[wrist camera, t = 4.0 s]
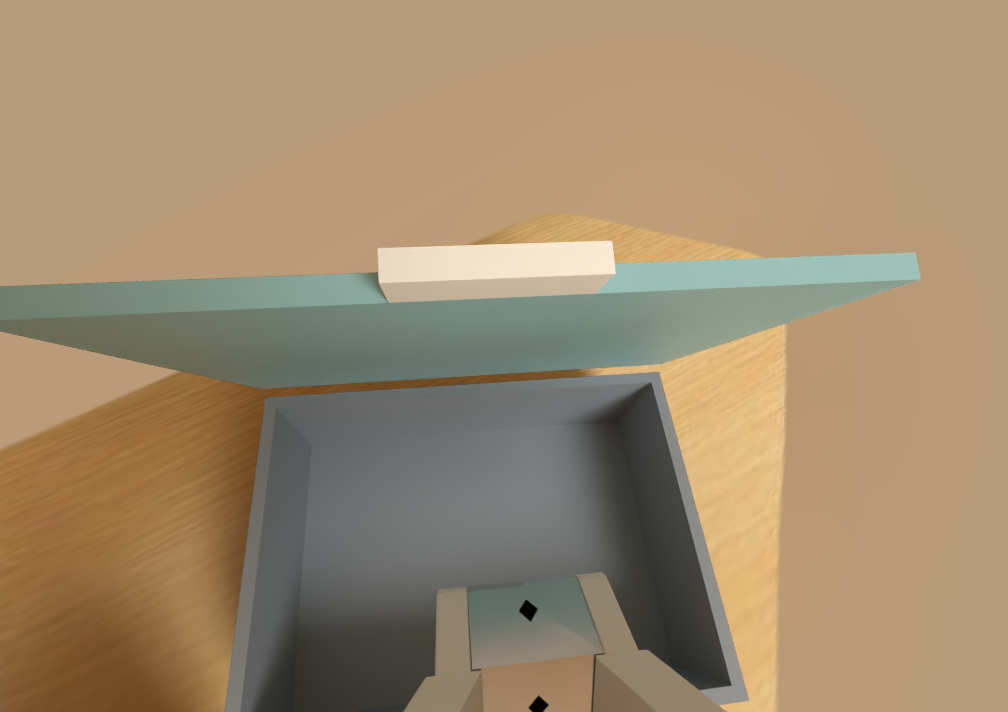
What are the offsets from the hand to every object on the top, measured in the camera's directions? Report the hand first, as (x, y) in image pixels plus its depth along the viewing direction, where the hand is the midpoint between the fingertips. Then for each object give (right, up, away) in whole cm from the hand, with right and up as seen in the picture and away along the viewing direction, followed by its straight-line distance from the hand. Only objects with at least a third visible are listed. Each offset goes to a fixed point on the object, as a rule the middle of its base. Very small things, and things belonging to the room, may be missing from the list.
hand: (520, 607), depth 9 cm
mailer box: (-2, -5, +16) cm, 17 cm away
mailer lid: (-1, +5, +6) cm, 8 cm away
